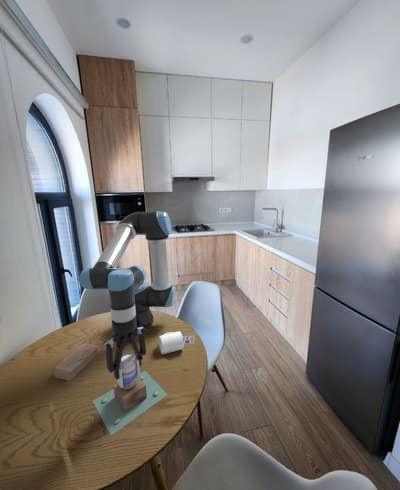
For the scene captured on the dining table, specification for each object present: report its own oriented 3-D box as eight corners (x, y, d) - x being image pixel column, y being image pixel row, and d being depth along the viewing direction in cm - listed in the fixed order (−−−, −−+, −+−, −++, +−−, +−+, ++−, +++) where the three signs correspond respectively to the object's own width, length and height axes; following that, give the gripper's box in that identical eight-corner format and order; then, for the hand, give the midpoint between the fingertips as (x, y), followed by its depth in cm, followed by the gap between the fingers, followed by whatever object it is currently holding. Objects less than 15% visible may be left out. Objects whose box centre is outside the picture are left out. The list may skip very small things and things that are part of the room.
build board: (144, 373, 88) (144, 369, 88) (167, 397, 76) (167, 393, 76) (92, 404, 74) (92, 400, 74) (111, 439, 63) (110, 434, 63)
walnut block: (135, 384, 81) (134, 372, 80) (146, 397, 75) (145, 385, 74) (114, 397, 75) (113, 385, 74) (124, 413, 70) (123, 399, 69)
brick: (70, 381, 85) (69, 371, 84) (53, 377, 87) (51, 367, 86) (99, 354, 100) (98, 345, 100) (84, 351, 102) (83, 342, 102)
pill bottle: (120, 379, 76) (118, 355, 74) (136, 375, 78) (134, 351, 76) (120, 391, 71) (118, 366, 69) (137, 387, 73) (135, 362, 71)
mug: (184, 352, 100) (183, 336, 99) (162, 358, 96) (161, 342, 95) (177, 338, 111) (176, 324, 110) (157, 343, 107) (156, 328, 106)
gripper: (143, 304, 79) (147, 361, 83) (89, 323, 66) (97, 389, 70) (154, 311, 73) (158, 371, 78) (98, 333, 61) (106, 404, 65)
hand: (129, 379), depth 74 cm, fingers closed on pill bottle, 5 cm apart
